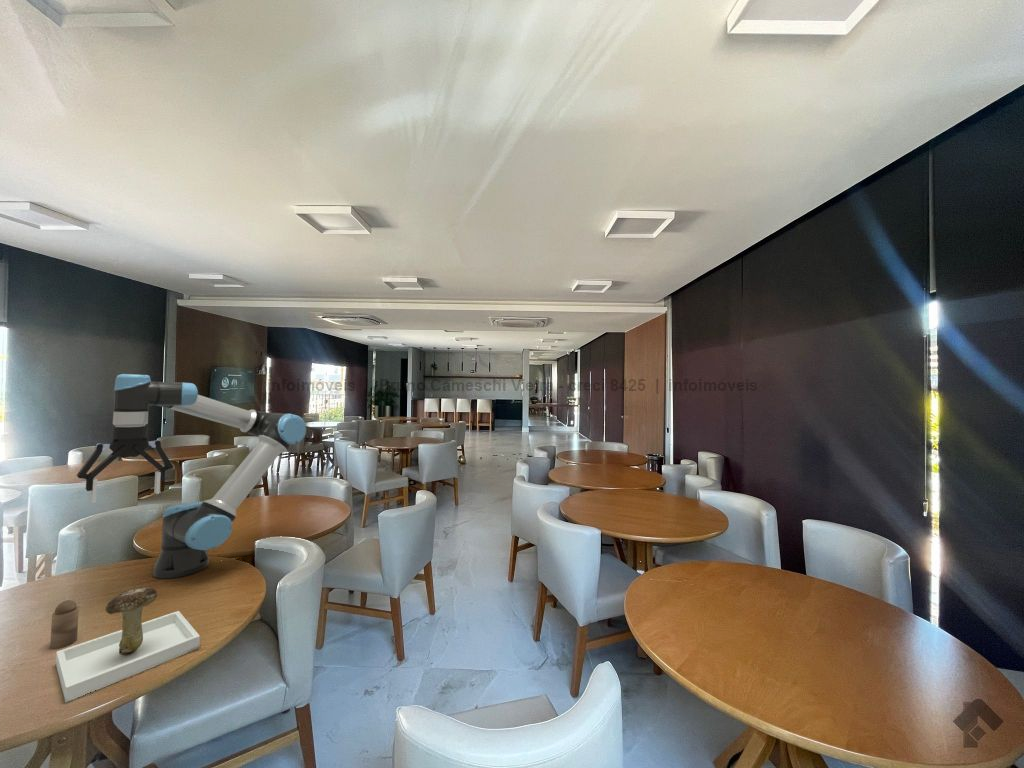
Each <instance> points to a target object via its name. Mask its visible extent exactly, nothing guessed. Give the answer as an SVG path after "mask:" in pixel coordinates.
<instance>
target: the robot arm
mask: <svg viewBox="0 0 1024 768" xmlns="http://www.w3.org/2000/svg"><path fill="white" fill-rule="evenodd" d="M113 391H114V392H113V393H114V394H113V415H112V425H113V427H112V429H111V430H112V431H111V442H110V443H98V442H97V443H96V444H95V447H94V451H93V452H92V454H91V455H90V456H89V458H88V459H87V460H86V462H85V463H84V464H83V465H82V467H81V468H80V470H79V471H78V472H77V473H76V477H77V478H79V479H83V480H85V490H86V491H87V492H90V502H91V503H92V504H95V503H97V491H98V487H97V486H98V478H96V476H98V475H99V474H100V473H101V472H102V471H103V470H105V469H106V468H107V467H108V466H109V465H110V464H111V463H112V462H114V461H115V460H116V459H118V458H122V459H124V458H125V459H126V458H129V457H130V458H136V457H138V456H141V457H142V458H144V459H145V460H146V461H147V462H148V463H150V464H151V465H152V466H153V467H154V468H155V469H157V470H158V471H157V470H156V471H155V472H154V486H153V487H154V491H153V493H154V494H155V495H159V494H160V493H161V483H163V482H165V479H166V471H168V470H172V469H173V468H174V465H173V464H172V462H171V460H170V459H169V458H168V456H167V454H166V453H165V452H164V450H163V448H162V443H161V441H160V440H159V439H154V440H151V441H148V426H147V425H148V423H149V409H150V408H149V407H150V406H151V407H154V406H158V407H162V408H165V409H169V410H172V411H176V412H180V413H183V414H186V415H190V416H193V417H197V418H201V419H205V420H208V421H212V422H215V423H219V424H223V425H226V426H229V427H233V428H237V429H240V432H242V433H245V434H249V435H251V436H254V437H257V438H258V443H257V444H256V445H255V446H254V447H253V449H252V450H251V451H250V452H249V453H248V455H246V457H245V458H244V459H243V460H242V462H241V463H240V464H239V465H238V466H237V468H236V469H235V470H234V472H233V473H232V474H231V475H230V476H229V478H227V479H226V481H225V482H224V484H223V485H222V486H221V487H220V488H219V490H218V491H217V492H216V493H215V494H214V496H213V497H212V498H209V499H206V500H203V501H201V500H200V501H190V502H184V503H180V504H174V505H171V506H168V507H166V508H165V509H164V510H163V515H162V518H161V519H162V524H161V526H162V528H161V529H162V530H161V531H162V532H161V547H160V548H161V549H160V553H159V555H158V558H156V562H155V564H154V566H153V571H152V572H153V573H152V575H153V577H154V578H157V579H175V578H181V577H185V576H189V575H192V574H196V573H198V572H200V571H202V570H204V569H206V568H207V567H208V566H209V564H210V557H209V554H208V551H209V550H212V549H216V548H217V547H220V546H221V545H222V544H223V543H225V542H226V541H227V540H228V538H230V536H231V534H232V532H233V531H232V530H233V528H232V526H233V522H234V521H235V519H236V518H237V517H238V515H237V509H238V508H239V507H240V505H241V504H242V503H243V502H244V500H245V499H246V498H247V496H248V495H249V494H250V493H251V491H252V490H253V489H254V487H255V486H256V485H257V484H258V483H259V481H260V480H261V478H262V477H263V476H264V474H265V473H266V472H267V470H268V469H269V468H270V467H271V466H272V465H273V464H274V462H275V460H276V459H277V458H278V456H279V455H280V454H283V453H287V452H288V450H289V449H290V447H291V446H292V445H296V444H299V443H300V442H301V441H303V439H304V438H305V436H306V434H307V427H306V424H307V423H306V422H305V420H304V419H303V418H302V417H301V416H300V415H296V414H293V413H279V412H265V411H259V410H256V409H249V410H247V409H244V408H241V407H238V406H234V405H233V404H229V403H225V402H223V401H219V400H217V399H213V398H210V397H207V396H204V395H200V394H199V391H198V387H197V386H196V384H194V383H193V382H183V381H182V382H178V381H177V382H175V381H174V382H173V381H152V380H151V376H150V375H148V374H134V373H133V374H132V373H130V374H129V373H121V374H118V375H117V376H116V378H115V381H114V388H113ZM149 446H150V447H151V448H153V449H154V450H155V452H156V453H157V455H158V456H159V458H160V460H161V461H162V463H163V464H164V465H161V463H159V462H158V461H157V460H155V458H154V457H152V455H150V454H149V453H148V452H147V451H146V449H147V448H148V447H149ZM107 449H109V450H111V451H112V452H111V453H110V454H109V455H108V456H107V457H106V458H104V460H103V461H101V462H100V463H99V464H98V465H97V466H95V468H93V469H92V470H91V468H92V467H93V466H94V464H95V463H96V461H97V460H98V459H99V457H100V456H101V454H102V453H103V452H105V451H106V450H107ZM90 470H91V471H90ZM89 471H90V472H89ZM88 472H89V473H88Z"/></svg>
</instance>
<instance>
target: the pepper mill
mask: <svg viewBox="0 0 1024 768" xmlns="http://www.w3.org/2000/svg"><path fill="white" fill-rule="evenodd" d="M79 611H80V607H79V606H77V603H76V601H74V600H73V599H72V600H71V599H69V600H64V601H62V602H60V603H59V604H58V605H57V606H56V607H55V609H54V611H53V612H52V615H51V625H50V626H51V629H50V644H49V645H50V646H49V649H50V650H57V649H59V650H60V649H63V648H65V647H66V648H67V647H70V645H71V646H72V645H73V644H75V643H76V642H77V641H78V626H79Z"/></svg>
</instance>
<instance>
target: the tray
mask: <svg viewBox="0 0 1024 768" xmlns="http://www.w3.org/2000/svg"><path fill="white" fill-rule="evenodd" d="M142 632H143V641H142V644H141V646H140V647H139V648H137V650H136V651H135V652H133V653H132V654H130V655H120V654H119V648H120V647H119V644H120V641H121V639H122V629H120V630H117V631H114V632H111V633H108V634H105V635H101V636H99V637H96V638H94V639H90V640H88V641H84V642H81V643H78V644H75V645H71V646H68V647H66V648H64V649H63V648H62V649H61V650H60V649H59V650H57V651H56V654H55V655H56V656H55V666H56V672H57V676H58V678H59V679H58V680H59V685H60V687H61V692H62V695H63V700H64V703H65V704H67V703H68V702H71V701H73V700H77V699H78V697H79V698H82V697H83V695H84V696H86V695H88V694H87V693H89V694H91V693H93V692H96V691H98V690H100V689H103V688H105V687H109V686H110V685H113V684H115V683H118V682H120V681H123V680H125V679H128V678H130V677H133V676H134V675H136V674H137V675H138V674H139V673H142V672H145V671H147V670H149V669H152V668H154V667H157V666H159V665H162V664H164V663H166V662H169V661H172V660H174V659H176V658H179V657H181V656H184V655H186V654H188V653H191V652H194V651H196V650H198V649H200V645H201V644H200V642H201V641H200V640H201V639H200V638H201V636H200V634H199V633H198V632H197V630H196V629H195V628H194V627H193V626H192V625H191V624H190V622H189V621H188V620H187V619H186V618H185V617H184V616H183V613H182V612H180V610H177V611H174V612H171V613H168V614H165V615H162V616H159V617H156V618H153V619H150V620H147V621H144V622H142ZM95 690H96V691H95ZM90 692H91V693H90ZM85 694H86V695H85Z"/></svg>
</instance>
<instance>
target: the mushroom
mask: <svg viewBox="0 0 1024 768" xmlns="http://www.w3.org/2000/svg"><path fill="white" fill-rule="evenodd" d="M157 597H158V592H157V590H156V589H154V588H152V587H139V588H135V589H130V590H127V591H124V592H122V593H120V594H119V595H116V596H114V597H113V598H112V600H110V601H109V602H108V603H107V605H106V607H105V612H106V613H107V614H109V615H113V614H115V615H116V614H120V613H121V614H122V625H121V627H122V629H121V630H122V639H121V641H120V644H119V647H120V648H119V654H120V655H130V654H132V653H133V652H135V651H136V650H137V648H139V647H140V646H141V644H142V641H143V632H142V623H143V622H142V614H143V609H144V607H147V606H149V605H151V604H152V603H153V602H154V601H155V600H156V598H157Z"/></svg>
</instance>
